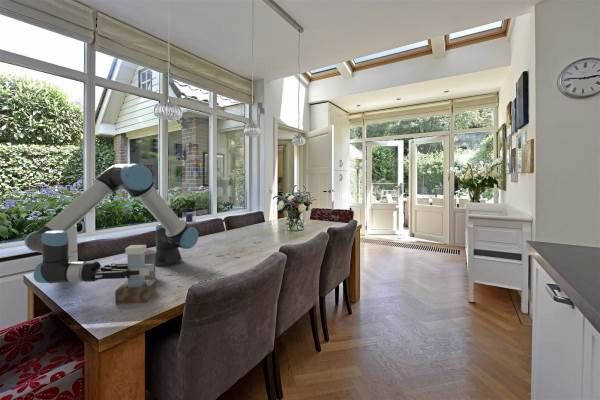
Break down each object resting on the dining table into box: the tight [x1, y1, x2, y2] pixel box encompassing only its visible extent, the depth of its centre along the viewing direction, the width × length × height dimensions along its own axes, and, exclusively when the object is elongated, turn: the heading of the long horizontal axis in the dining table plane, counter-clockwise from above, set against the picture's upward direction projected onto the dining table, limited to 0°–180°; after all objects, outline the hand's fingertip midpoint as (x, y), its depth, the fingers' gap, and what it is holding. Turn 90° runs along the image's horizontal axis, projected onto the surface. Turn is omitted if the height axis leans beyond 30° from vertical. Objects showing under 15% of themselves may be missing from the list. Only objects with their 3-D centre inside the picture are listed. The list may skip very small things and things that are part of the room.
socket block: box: [114, 279, 157, 305], centre depth 113 cm, size 11×11×6 cm
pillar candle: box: [145, 249, 156, 280], centre depth 134 cm, size 10×10×15 cm
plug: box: [124, 244, 147, 288], centre depth 113 cm, size 6×6×20 cm
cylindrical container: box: [67, 224, 79, 262], centre depth 135 cm, size 7×7×25 cm
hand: (150, 269), depth 114 cm, fingers closed on plug, 5 cm apart
